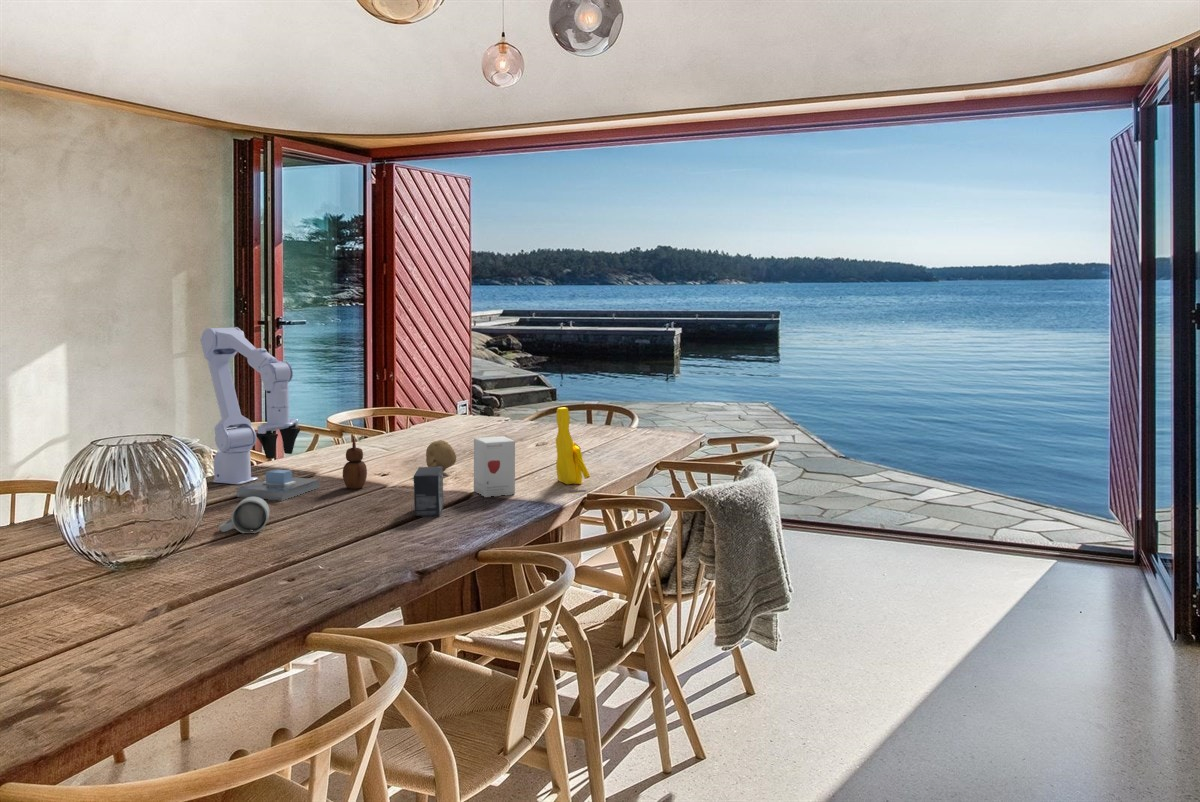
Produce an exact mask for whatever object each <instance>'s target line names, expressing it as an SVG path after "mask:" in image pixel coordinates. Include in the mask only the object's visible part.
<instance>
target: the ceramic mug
mask: <svg viewBox="0 0 1200 802" xmlns="http://www.w3.org/2000/svg"><path fill="white" fill-rule="evenodd" d="M270 513H271V512H270V507H269V504H268V503H267V501H266V500H264V499H261V498H259V497H247V498H243V499H242V500H240V501H239V503H238V504H236V506H235V507H234V509H233V510H232V513H231V517H230V519H228V520H225V521H224V522H223V523H221V524H220V525H219V526H218V527H219V529H220V531H221V533H225V532H228V531H231V530H233V529H235V530H237V531H238V532H240V533H241V534H244V533H254V534H257V533H259V532H261V531H262V530H263V529H264V528H265V527H266V526H267V523H268V521H269V517H270ZM250 529H252V530H253V531H250Z"/></svg>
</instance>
